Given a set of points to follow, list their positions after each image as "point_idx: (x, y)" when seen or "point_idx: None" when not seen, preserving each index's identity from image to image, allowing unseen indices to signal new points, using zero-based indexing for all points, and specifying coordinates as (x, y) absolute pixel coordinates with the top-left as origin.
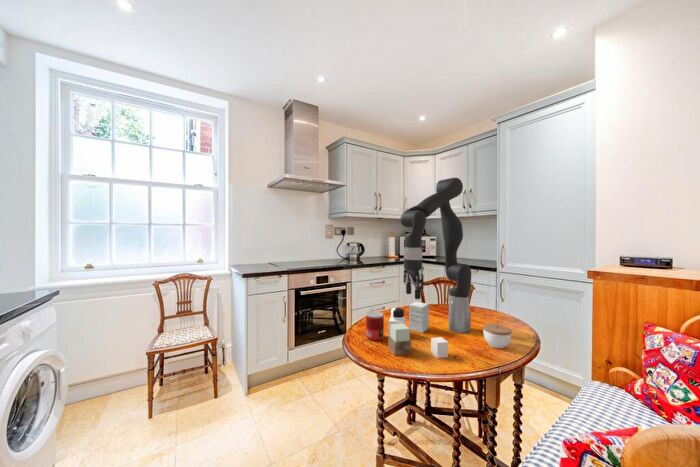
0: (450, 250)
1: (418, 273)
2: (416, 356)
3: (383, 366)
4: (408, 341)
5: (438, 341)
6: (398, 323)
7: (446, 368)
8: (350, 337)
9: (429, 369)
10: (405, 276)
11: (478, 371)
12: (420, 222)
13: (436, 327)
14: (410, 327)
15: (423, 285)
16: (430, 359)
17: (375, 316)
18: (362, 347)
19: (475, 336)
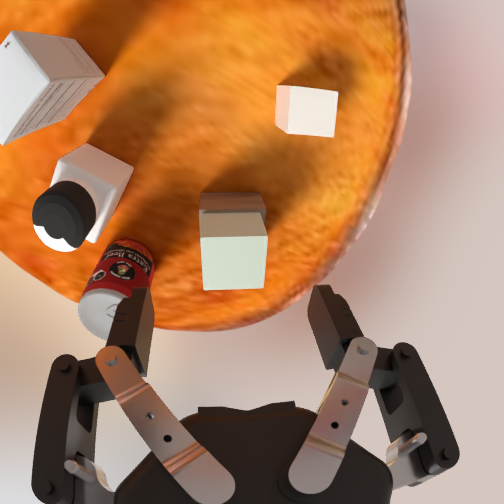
0: None
1: (390, 495)
2: (283, 185)
3: (301, 284)
4: (264, 218)
5: (323, 125)
6: (110, 206)
7: (368, 141)
8: None
9: (355, 187)
10: (91, 447)
11: (404, 74)
12: None
13: (72, 5)
14: (64, 117)
15: (425, 370)
16: (313, 153)
17: None
18: (192, 305)
19: None
